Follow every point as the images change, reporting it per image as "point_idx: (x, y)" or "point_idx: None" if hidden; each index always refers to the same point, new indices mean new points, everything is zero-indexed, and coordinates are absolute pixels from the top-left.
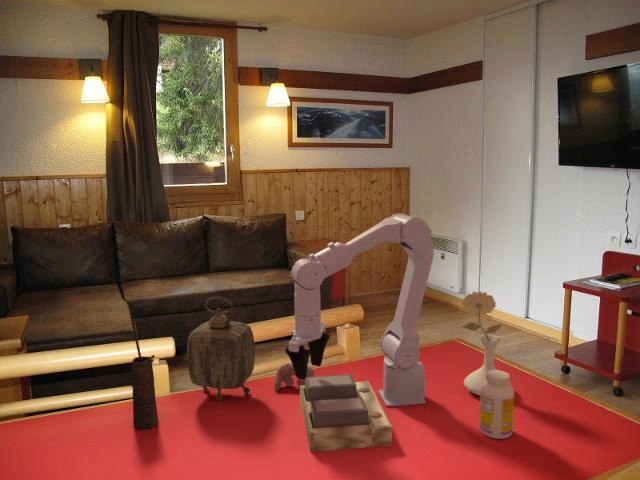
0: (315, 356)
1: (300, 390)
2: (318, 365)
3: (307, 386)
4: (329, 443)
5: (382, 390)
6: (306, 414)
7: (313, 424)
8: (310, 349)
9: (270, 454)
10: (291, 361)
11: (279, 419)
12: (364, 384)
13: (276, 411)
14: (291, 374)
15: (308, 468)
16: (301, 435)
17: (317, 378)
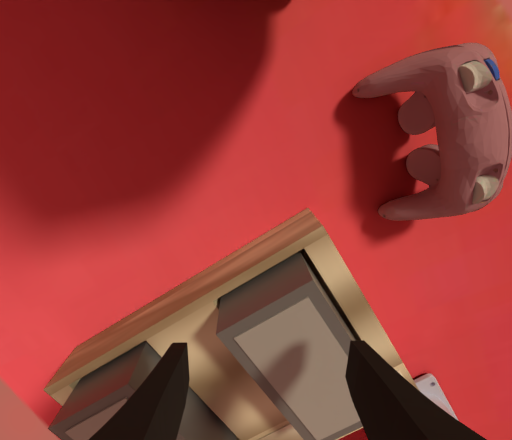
0: (372, 402)
1: (295, 238)
2: (347, 374)
3: (231, 327)
4: None
5: (434, 382)
6: (132, 338)
7: (88, 379)
8: (402, 414)
9: (3, 273)
10: (103, 426)
11: (174, 205)
12: None
13: (215, 170)
14: (436, 128)
15: (17, 368)
16: (129, 298)
17: (315, 332)
